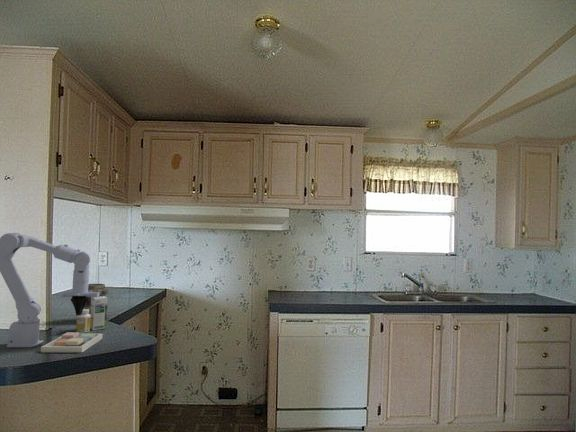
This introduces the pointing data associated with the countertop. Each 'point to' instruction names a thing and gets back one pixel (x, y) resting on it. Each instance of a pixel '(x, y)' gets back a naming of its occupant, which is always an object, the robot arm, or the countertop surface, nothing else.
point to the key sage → (88, 335)
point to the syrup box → (98, 313)
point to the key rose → (70, 335)
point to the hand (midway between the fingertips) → (78, 314)
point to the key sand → (74, 341)
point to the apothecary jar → (95, 288)
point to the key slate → (85, 339)
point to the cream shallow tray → (71, 348)
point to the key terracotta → (60, 342)
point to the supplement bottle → (83, 322)
